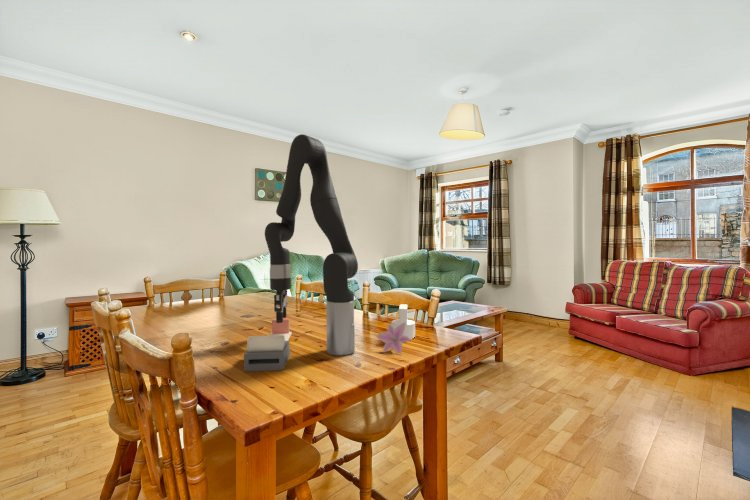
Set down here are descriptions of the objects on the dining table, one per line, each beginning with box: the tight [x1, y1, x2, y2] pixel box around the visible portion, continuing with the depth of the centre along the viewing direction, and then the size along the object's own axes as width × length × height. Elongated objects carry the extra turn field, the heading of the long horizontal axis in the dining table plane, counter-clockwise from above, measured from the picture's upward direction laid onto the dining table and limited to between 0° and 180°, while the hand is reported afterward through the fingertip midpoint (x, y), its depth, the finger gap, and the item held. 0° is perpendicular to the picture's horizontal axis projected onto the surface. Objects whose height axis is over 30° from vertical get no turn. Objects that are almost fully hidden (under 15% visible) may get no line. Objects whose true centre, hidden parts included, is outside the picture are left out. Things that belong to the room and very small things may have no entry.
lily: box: [375, 323, 412, 354], centre depth 120 cm, size 11×11×9 cm
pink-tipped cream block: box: [268, 318, 293, 341], centre depth 122 cm, size 8×20×6 cm, turn 6°
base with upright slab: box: [391, 303, 416, 339], centre depth 135 cm, size 9×9×12 cm
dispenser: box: [243, 334, 291, 372], centre depth 108 cm, size 11×14×9 cm
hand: (281, 320), depth 131 cm, fingers open, 8 cm apart
